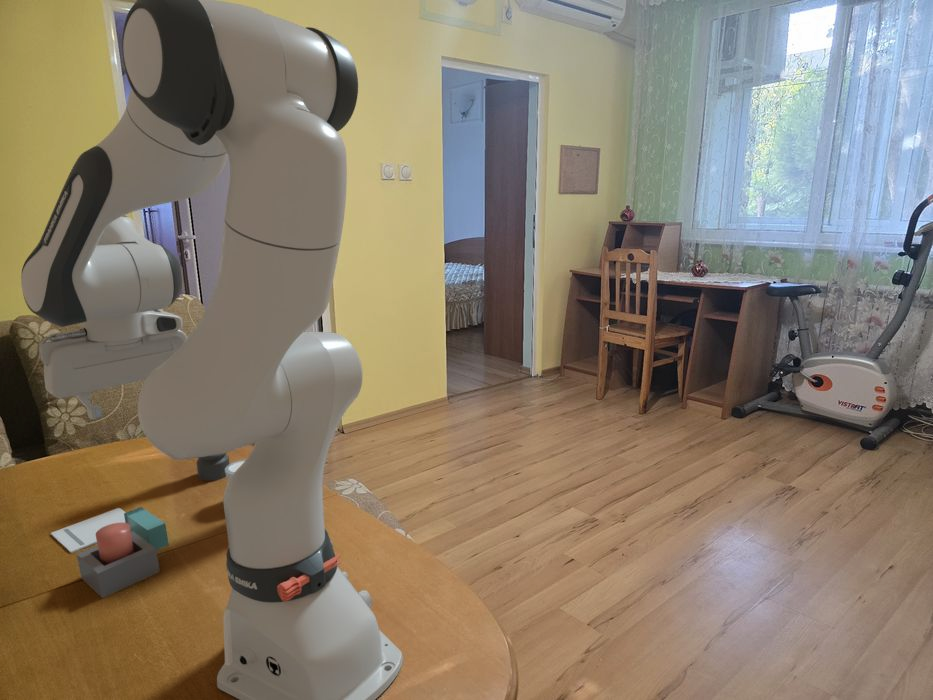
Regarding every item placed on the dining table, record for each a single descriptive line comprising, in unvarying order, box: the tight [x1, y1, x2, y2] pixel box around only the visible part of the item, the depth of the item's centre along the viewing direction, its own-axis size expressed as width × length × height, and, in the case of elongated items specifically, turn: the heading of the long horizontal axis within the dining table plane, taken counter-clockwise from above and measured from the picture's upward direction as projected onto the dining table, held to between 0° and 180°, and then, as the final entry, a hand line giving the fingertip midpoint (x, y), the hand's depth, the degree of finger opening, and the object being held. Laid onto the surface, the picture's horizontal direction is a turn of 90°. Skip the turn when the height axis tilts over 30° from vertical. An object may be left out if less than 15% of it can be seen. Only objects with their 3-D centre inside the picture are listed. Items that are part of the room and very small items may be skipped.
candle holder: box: [196, 453, 230, 482], centre depth 121 cm, size 6×6×25 cm
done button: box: [96, 523, 134, 566], centre depth 89 cm, size 4×4×5 cm
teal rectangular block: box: [124, 506, 170, 551], centre depth 99 cm, size 9×3×4 cm, turn 51°
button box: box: [76, 532, 160, 599], centre depth 90 cm, size 8×8×4 cm
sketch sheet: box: [50, 507, 127, 554], centre depth 103 cm, size 10×11×1 cm
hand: (128, 409), depth 94 cm, fingers open, 8 cm apart
